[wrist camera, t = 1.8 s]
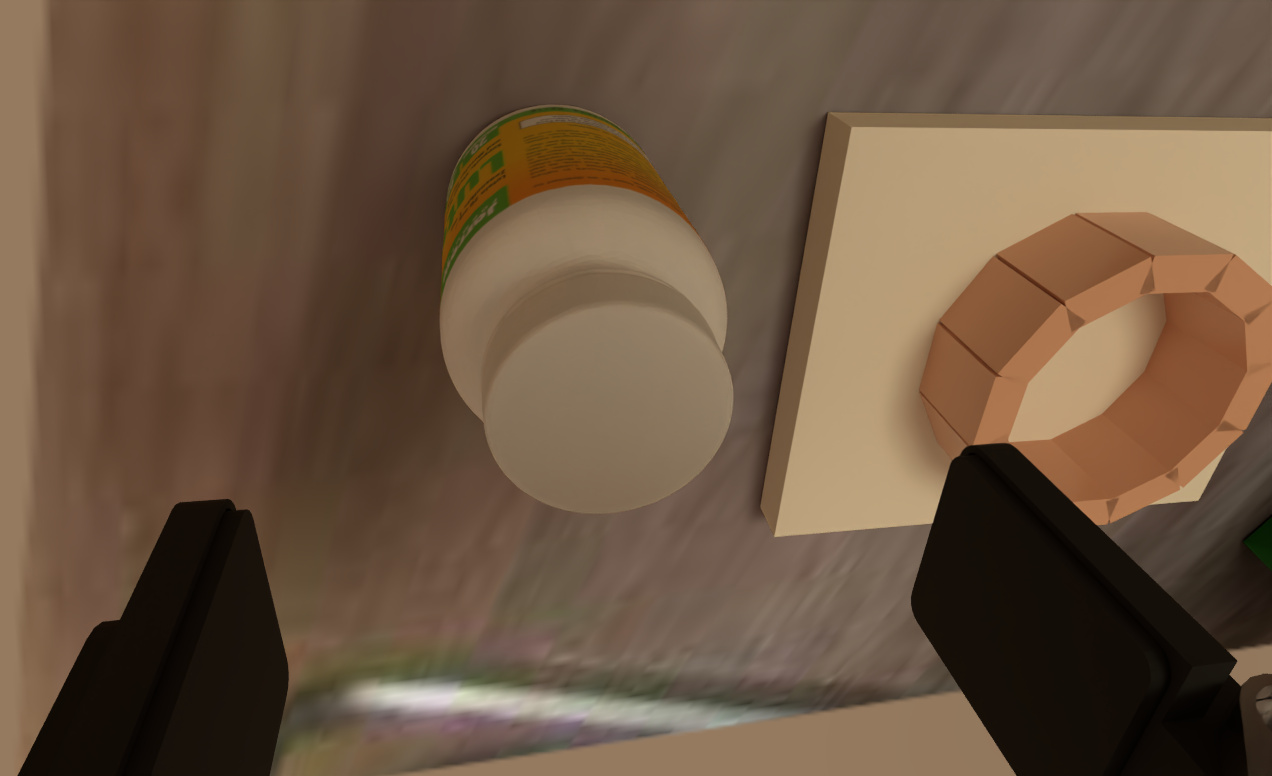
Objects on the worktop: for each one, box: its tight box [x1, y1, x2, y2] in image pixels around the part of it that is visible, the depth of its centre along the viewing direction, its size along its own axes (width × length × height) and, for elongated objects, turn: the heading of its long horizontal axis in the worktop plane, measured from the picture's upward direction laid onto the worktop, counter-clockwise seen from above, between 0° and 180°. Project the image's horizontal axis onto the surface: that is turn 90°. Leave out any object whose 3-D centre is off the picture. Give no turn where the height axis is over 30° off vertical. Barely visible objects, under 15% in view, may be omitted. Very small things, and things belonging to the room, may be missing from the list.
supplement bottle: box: [440, 104, 734, 514], centre depth 17 cm, size 5×5×10 cm
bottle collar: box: [919, 212, 1272, 525], centre depth 23 cm, size 9×9×3 cm
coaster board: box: [760, 112, 1272, 537], centre depth 25 cm, size 13×16×2 cm
